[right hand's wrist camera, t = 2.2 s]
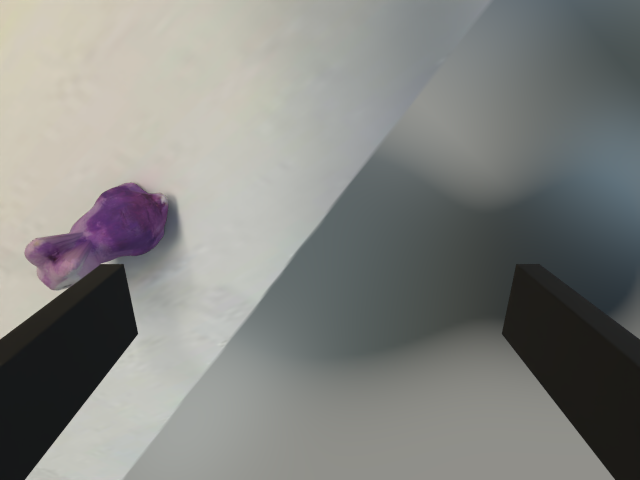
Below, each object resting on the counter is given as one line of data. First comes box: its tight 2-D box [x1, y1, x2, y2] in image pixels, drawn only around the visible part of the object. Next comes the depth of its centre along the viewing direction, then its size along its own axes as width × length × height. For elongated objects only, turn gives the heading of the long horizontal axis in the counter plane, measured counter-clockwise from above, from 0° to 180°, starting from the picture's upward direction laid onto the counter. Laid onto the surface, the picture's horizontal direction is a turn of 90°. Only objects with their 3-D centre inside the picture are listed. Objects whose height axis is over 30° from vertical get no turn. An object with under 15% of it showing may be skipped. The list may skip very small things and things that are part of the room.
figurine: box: [25, 183, 168, 290], centre depth 39 cm, size 9×10×15 cm
